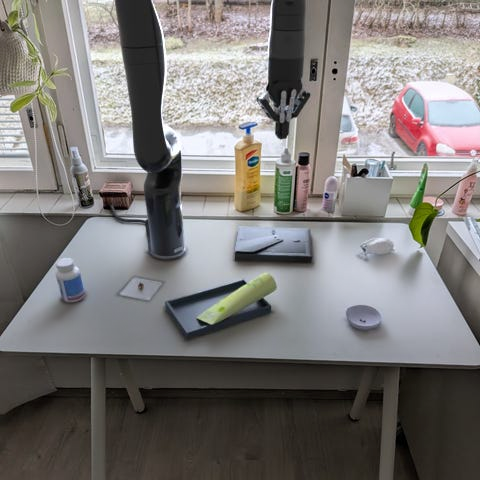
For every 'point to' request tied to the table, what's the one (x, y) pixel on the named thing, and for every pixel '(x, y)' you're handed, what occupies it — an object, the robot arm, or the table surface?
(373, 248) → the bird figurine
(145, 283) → the square paper sheet
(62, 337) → the table surface
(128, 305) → the table surface
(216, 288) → the tray
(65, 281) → the pill bottle
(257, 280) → the tube
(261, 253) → the picture frame
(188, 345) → the table surface
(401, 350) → the table surface
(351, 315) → the small lavender dish
